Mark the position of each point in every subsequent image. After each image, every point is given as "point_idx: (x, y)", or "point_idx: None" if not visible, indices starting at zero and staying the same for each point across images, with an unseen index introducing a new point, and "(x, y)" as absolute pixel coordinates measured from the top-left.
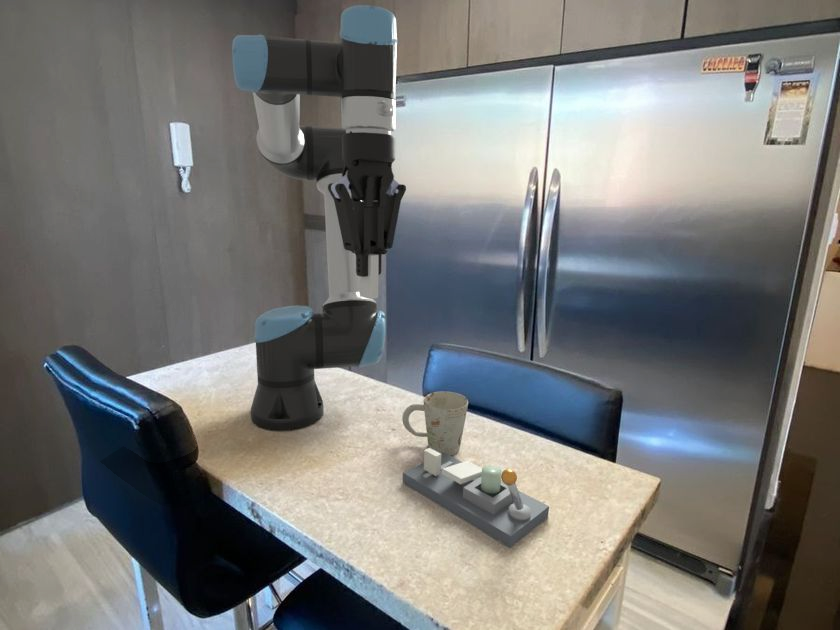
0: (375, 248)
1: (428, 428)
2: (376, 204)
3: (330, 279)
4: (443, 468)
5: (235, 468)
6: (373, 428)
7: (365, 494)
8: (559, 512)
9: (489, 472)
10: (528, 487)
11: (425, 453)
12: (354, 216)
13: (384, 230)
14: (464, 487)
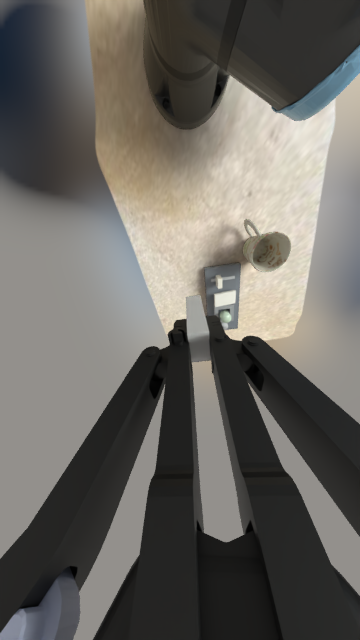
0: (212, 362)
1: (247, 248)
2: (241, 512)
3: None
4: (215, 295)
5: (117, 176)
6: (238, 179)
7: (181, 264)
8: (242, 325)
9: (224, 319)
10: (250, 307)
11: (217, 279)
12: (135, 459)
13: (262, 388)
14: (214, 307)
